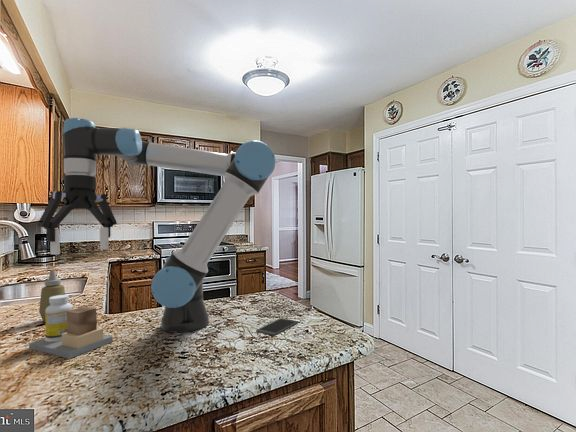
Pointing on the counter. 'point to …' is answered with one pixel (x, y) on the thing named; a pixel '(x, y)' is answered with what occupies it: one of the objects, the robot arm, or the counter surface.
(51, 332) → the pill bottle
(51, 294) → the squeeze bottle
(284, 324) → the cell phone
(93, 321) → the walnut block
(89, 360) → the counter surface
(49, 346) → the board
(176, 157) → the robot arm
